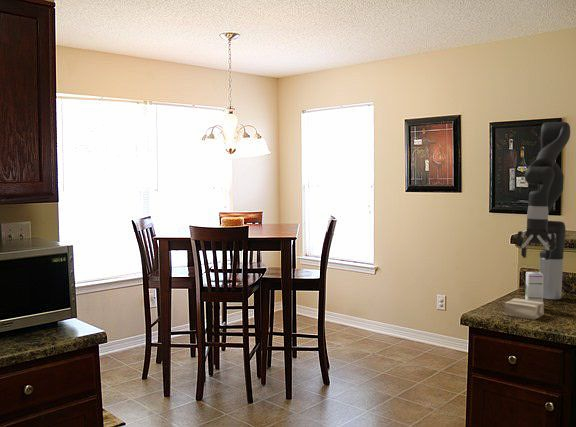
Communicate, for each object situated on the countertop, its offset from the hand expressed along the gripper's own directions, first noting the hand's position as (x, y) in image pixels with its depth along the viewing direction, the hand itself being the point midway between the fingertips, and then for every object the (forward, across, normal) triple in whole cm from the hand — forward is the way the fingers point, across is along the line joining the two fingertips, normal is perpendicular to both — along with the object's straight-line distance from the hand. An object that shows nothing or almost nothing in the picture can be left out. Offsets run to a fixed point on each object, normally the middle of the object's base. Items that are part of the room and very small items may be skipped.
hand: (535, 258), depth 229 cm
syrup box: (+20, 0, 0) cm, 20 cm away
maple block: (+21, 0, +12) cm, 24 cm away
